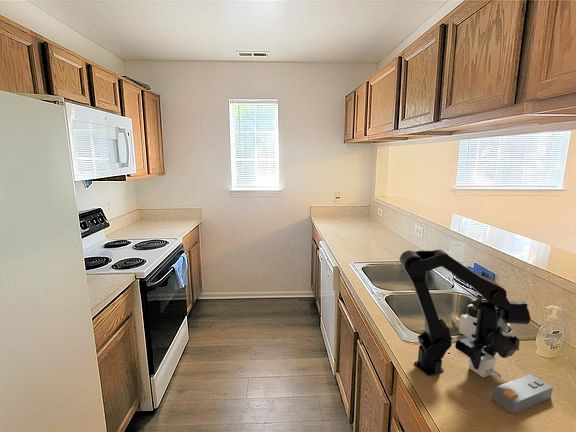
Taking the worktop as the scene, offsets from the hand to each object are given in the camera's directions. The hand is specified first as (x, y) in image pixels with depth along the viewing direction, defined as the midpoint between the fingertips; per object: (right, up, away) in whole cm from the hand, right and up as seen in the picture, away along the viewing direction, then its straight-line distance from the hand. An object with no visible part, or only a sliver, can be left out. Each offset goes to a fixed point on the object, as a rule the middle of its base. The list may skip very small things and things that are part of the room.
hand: (481, 366), depth 104 cm
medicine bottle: (+9, +2, +20) cm, 22 cm away
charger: (+1, -2, -1) cm, 2 cm away
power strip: (+5, -4, -11) cm, 13 cm away
